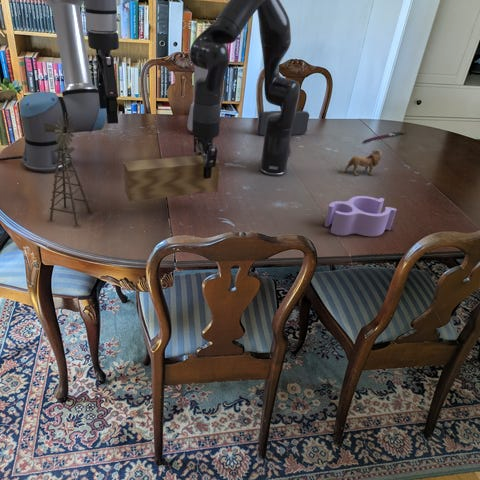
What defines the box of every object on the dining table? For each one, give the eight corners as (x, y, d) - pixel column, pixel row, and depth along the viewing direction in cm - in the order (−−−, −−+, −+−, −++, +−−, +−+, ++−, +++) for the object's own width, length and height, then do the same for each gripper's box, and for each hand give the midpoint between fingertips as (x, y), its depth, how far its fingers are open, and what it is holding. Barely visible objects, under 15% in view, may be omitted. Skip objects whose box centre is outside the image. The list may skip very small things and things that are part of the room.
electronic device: (200, 136, 194) (204, 61, 178) (186, 132, 197) (188, 57, 181) (217, 129, 203) (222, 57, 187) (203, 125, 206) (207, 53, 190)
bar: (129, 201, 130) (127, 170, 125) (124, 191, 135) (123, 161, 130) (217, 191, 140) (219, 162, 135) (210, 182, 144) (212, 154, 139)
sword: (401, 131, 224) (402, 128, 223) (406, 133, 222) (407, 131, 221) (358, 142, 208) (358, 140, 207) (363, 145, 206) (363, 142, 205)
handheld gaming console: (303, 132, 210) (307, 110, 205) (306, 134, 208) (310, 112, 203) (256, 133, 203) (259, 111, 198) (258, 135, 201) (261, 113, 196)
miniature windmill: (76, 226, 128) (64, 120, 112) (48, 221, 129) (32, 115, 113) (91, 211, 136) (82, 109, 120) (65, 206, 137) (52, 104, 121)
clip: (337, 240, 135) (342, 219, 131) (318, 218, 145) (322, 198, 141) (395, 233, 141) (402, 213, 137) (373, 213, 151) (378, 194, 147)
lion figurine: (372, 168, 182) (378, 147, 177) (380, 174, 178) (386, 152, 173) (340, 171, 177) (345, 148, 172) (347, 177, 173) (352, 154, 168)
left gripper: (127, 40, 108) (131, 129, 119) (110, 24, 128) (115, 102, 139) (93, 39, 106) (101, 130, 117) (81, 23, 125) (88, 103, 136)
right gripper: (228, 126, 125) (224, 182, 134) (210, 109, 136) (207, 162, 145) (201, 127, 122) (199, 185, 131) (185, 110, 133) (184, 164, 142)
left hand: (108, 115), depth 128 cm, fingers open, 13 cm apart
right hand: (203, 172), depth 138 cm, fingers closed on bar, 6 cm apart
